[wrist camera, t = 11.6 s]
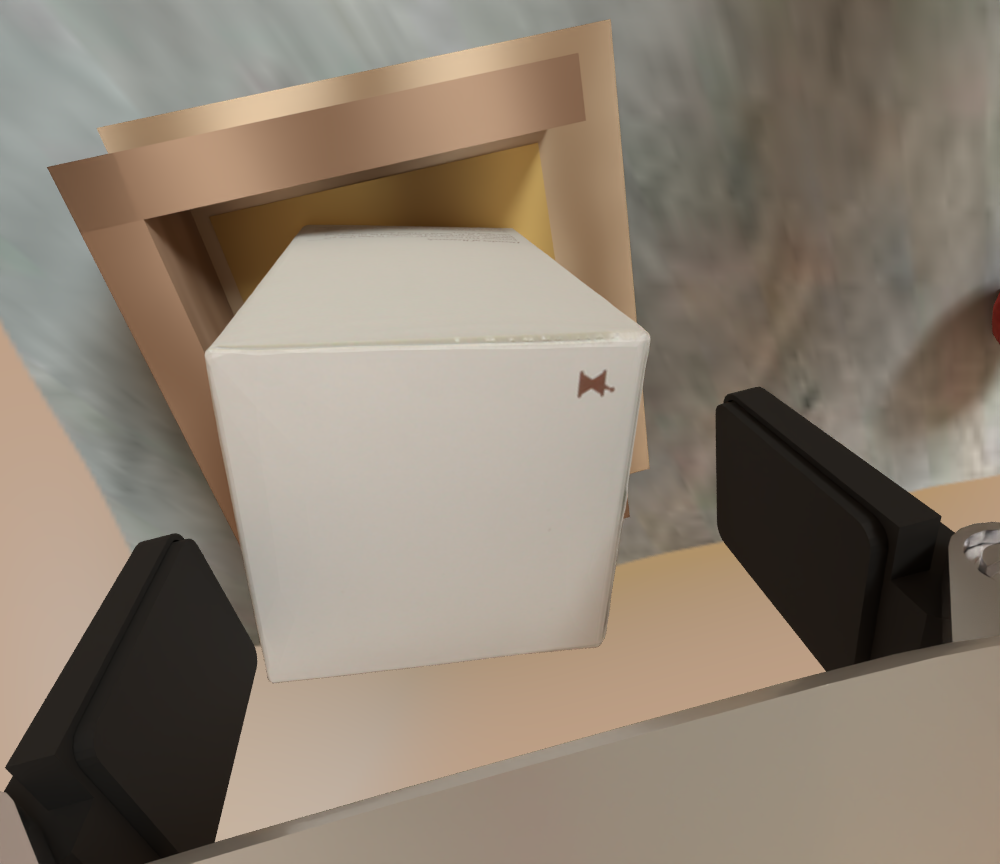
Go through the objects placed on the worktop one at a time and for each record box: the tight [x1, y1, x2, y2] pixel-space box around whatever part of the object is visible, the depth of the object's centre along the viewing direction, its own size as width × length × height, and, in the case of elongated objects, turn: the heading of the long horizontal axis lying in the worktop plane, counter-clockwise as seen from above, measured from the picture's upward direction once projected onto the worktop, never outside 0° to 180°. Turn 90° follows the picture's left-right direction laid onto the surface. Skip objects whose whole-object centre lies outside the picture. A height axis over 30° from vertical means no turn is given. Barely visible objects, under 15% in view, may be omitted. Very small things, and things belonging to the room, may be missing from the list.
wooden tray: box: [47, 19, 649, 547], centre depth 22 cm, size 16×17×7 cm
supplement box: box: [205, 225, 650, 683], centre depth 16 cm, size 7×7×13 cm
